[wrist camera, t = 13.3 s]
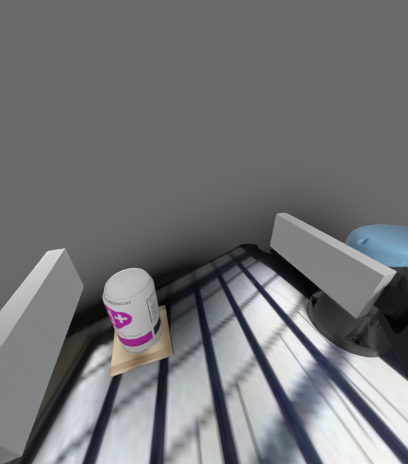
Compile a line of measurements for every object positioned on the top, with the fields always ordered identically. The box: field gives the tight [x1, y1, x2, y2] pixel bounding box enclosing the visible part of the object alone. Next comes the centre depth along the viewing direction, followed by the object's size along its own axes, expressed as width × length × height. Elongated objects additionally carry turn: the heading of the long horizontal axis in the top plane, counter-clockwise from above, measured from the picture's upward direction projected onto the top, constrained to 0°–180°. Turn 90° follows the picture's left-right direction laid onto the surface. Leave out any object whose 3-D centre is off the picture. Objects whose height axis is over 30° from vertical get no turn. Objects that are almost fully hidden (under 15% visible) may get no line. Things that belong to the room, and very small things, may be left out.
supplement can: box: [103, 268, 162, 354], centre depth 33 cm, size 8×8×15 cm
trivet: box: [110, 305, 173, 377], centre depth 37 cm, size 11×11×1 cm
